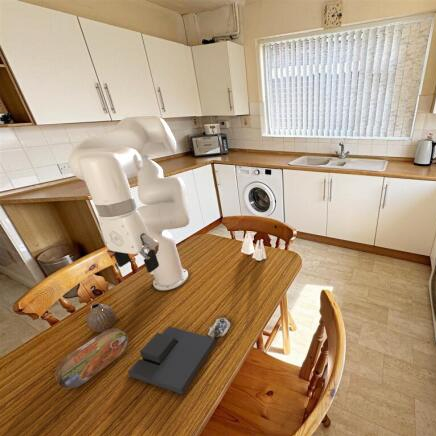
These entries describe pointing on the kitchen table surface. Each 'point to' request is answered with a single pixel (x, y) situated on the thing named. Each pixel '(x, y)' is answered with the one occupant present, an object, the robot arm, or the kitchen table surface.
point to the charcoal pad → (176, 361)
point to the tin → (91, 358)
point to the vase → (100, 317)
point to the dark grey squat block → (158, 348)
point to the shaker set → (249, 248)
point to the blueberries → (219, 328)
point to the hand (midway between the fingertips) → (139, 266)
